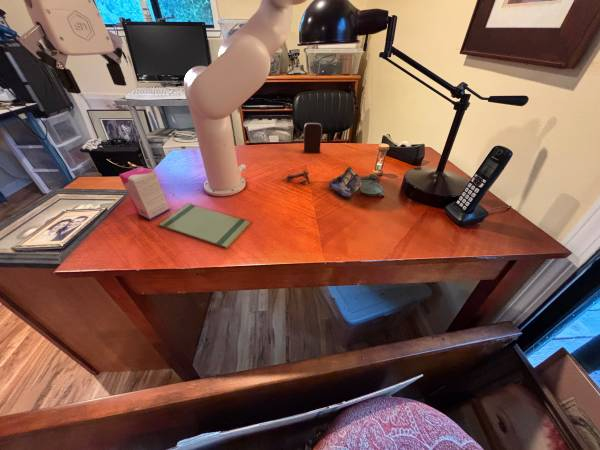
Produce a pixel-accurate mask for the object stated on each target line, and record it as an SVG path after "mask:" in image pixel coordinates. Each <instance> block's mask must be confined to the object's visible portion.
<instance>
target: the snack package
mask: <svg viewBox="0 0 600 450" xmlns="http://www.w3.org/2000/svg"><path fill="white" fill-rule="evenodd" d="M361 181H362V178H361V177H360V176H359V174H358V173H356V172H354V170H353V168H352V167H351V166H348V167H347V168H346V169H345V171H344V172H343V173H342V174H340V175H338V176H337V177H335V178H333V179H332V180H331V181H329V182H328V188H329V189H333V190H335V191H336V193H337V194H338V195H339V196H341V197H343V198H346V199H349V200H350V199H352V197H353V195H354V194H355V192H357V191H358V190H360V189H359V187H360V186H361V187H362V184H363V181H362V182H361Z"/></svg>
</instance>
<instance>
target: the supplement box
mask: <svg viewBox="0 0 600 450" xmlns="http://www.w3.org/2000/svg"><path fill="white" fill-rule="evenodd" d="M118 175H119V179H120V181H121V183H122V184H123V186H124V189H125V191H126V192H127V195H128V197H129V199H130V201H131V203H132V205H133V207H134V210H135V211H136V213H137V215H139V216H140V217H142V218H145V219H146V220H148V221H149V222H150V221H153V220H155V219H156V218H159V217H160V216H161V215H164V214H166V213H167V212H169V211H170V208H169V205H168V202H167V200H166V197H165V195H164V192H163V190H162V186H161V184H160V181H159V179H158V175H157V174H156V171H154V170H151V169H149V168H146V167H144V166H139V167H136V168H134V169H131V170H129V171H126V172H123V173H119V174H118Z"/></svg>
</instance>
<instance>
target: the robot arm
mask: <svg viewBox="0 0 600 450" xmlns="http://www.w3.org/2000/svg"><path fill="white" fill-rule="evenodd" d="M306 1H307V0H260V4H259V6H258V8H257V10H256V11H255V12H254V14H252V15H251V17H250V18H249V19H248V20H247V21H245V23H244V24H242V26H240V27H239V28H238V29H237V30H235V32H233V33H232V34H231V35H229V36H228V37H227V38H226V39H225V40H224V41H223V42H222V44H221V45H220V47H219V50H218V56H217V57H216V58H215V59H214V60H212V62H211V63H210V64H209V65H208V66H206V65H205V66H204V65H196V66H193V67H192V68H190V69H189V70H188V71H187V73H186V74H185V76H184V79H183V90H184V96H185V99H186V102H187V103H186V104H187V106H188V109H189V113H190V116H191V120H192V123H193V128H194V131H195V135H196V139H197V143H198V147H199V151H200V155H201V158H202V163H203V167H204V171H205V175H206V179H207V180H205V182H204V184H203V190H204V192H205V193H207V194H208V195H211V196H213V197H214V196H215V197H227V196H232V195H233V196H234V195H235V194H238V193H240V192H241V191H243V190H244V189H245V187H246V185H247V184H246V180H245V178H244V177H243V176H242V175H241V174H242V173H243V172H244V171H246V170H247V166H246V165H245V164H244V163H242V164H240V165H238V164H239V163H238V159H237V151H236V143H235V139H234V132H233V124H232V119H231V115H232V114H233V113H234V112H235V111H236V110H238V108H240V107H241V106H242V105H243V104H244V103H245V102H246V101H248V100H249V99H250V98H251V97H252V96H253V95H254V94H255V93H256V92H257V91H259V89H260V88H261V87H262V86H263V85H264V84H265V82H266V81H267V79H268V77H269V75H270V72H271V58H272V57H273V56H274V55H275V54H276V53H277V52H278V51H279V50H280V49H281V48H282V46H284V45H285V42H286V41H287V40H288V38H289V35H290V32H291V27H292V21H293V13H294V12H293V11H294V9H293V8H294V6H298V5H301V4H304V3H305V2H306ZM23 3H24V6H25V8H26V11H27V13H28V16H29V17H30V19H31V22H32V24H33V26H32V27H31V28H30V29H28V30H27V31H26V32H25V33H23V34H22V35H21V36H20V37H18V42H19V43H20V44H21V45H22V46H23V47H24V48H25V49H26V50H27V51H28V52H30V53H31V54H32V55H33V57H34V58H36V59H37V60H39V61H40V62H42V63H43V64H45V65H47V66H48V67H49V68H50V69H52V70H53V71H54V73H55V75H56V76H57V79H58V80H59V82H60V84H61V86H62V88H63V89H65V90H66V91H67V93H69V94H76V95H79V94H81V92H82V90H81V89H80V86H79V85H78V82H77V81H76V79H75V76H74V74H73V72H72V71H71V69H70V68H67V67H66V65H67V61H68V57H69V56H73V57H77V56H78V57H80V56H95V55H97V56H98V55H99V56H101V57H102V58H103V59H104V61H106V62H107V63H105V64H106V65H105V66H106V68H107V71H108V73H109V76H110V78H111V80H112V83H113V85H115V86H122V87H126V86H127V82H126V78H125V76H124V73H123V70H122V66H121V65H120V64H122V57H123V53H124V52H123V51H124V50H123V39H122V37H120V36H118V35H117V34H115V33H113V32H112V31H109V30H108V29H107V27H106V24H105V22H104V20H103V18H102V15H101V13H100V11H99V10H98V8H97V5H96V4H95V2H94V0H23ZM40 40H41V43H42V44H43V46H44V47H45V49H46V50H47V51H48V52H49V53H47V52H45V51H43V50H42V49H41V48H40V47H39V45H38V42H39V41H40Z"/></svg>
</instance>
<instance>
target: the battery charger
mask: <svg viewBox="0 0 600 450" xmlns="http://www.w3.org/2000/svg"><path fill="white" fill-rule="evenodd" d="M322 135H323V126H322V124H321V123H320V122H315V121H308V122H306V123H305V124H304V126H303V152H304V153H306V154H320V153H321V145H322Z"/></svg>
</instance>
